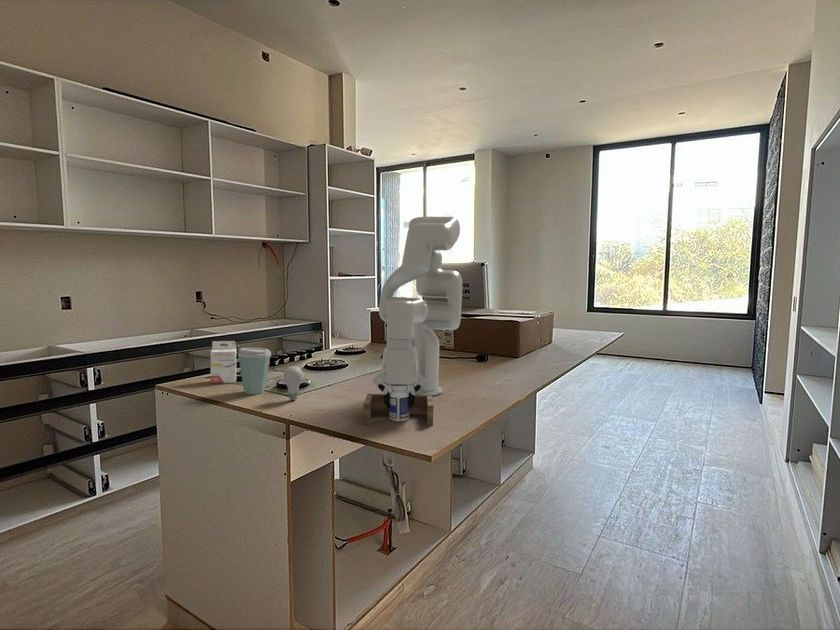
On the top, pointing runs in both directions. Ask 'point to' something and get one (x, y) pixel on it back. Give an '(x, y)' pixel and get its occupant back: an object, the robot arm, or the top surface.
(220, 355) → the ink cartridge box
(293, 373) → the lightbulb
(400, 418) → the pill bottle
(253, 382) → the disposable coffee cup
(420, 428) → the top surface
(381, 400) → the open wooden frame
